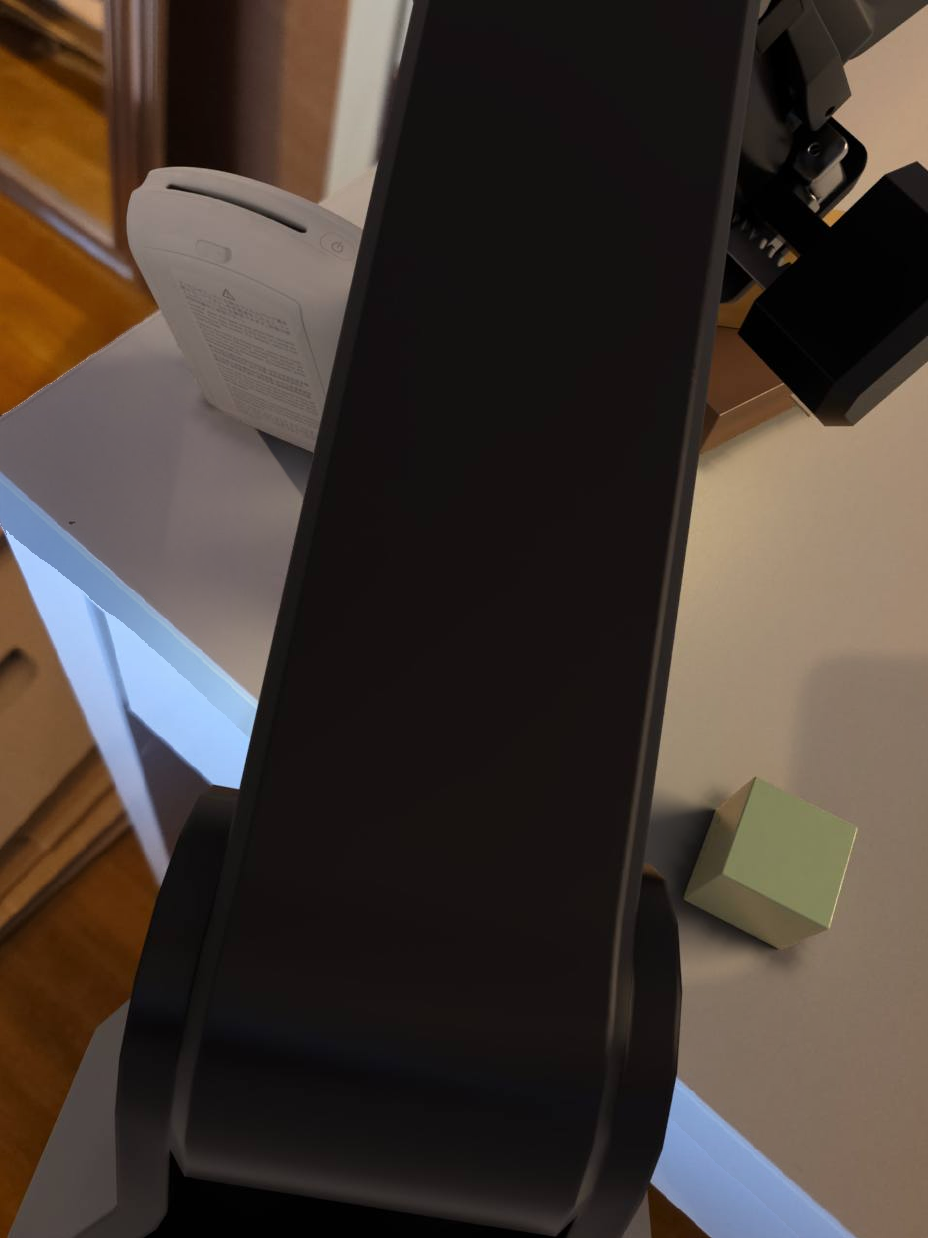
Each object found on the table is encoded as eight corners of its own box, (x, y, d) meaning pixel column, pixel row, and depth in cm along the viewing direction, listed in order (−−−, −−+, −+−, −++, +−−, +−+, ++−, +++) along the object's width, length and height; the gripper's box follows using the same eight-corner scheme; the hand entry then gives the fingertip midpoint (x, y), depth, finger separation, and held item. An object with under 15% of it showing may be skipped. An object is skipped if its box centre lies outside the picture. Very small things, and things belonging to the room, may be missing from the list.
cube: (780, 950, 36) (830, 930, 33) (682, 899, 37) (720, 874, 33) (809, 856, 38) (859, 827, 35) (715, 808, 39) (755, 775, 35)
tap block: (881, 404, 50) (914, 361, 48) (676, 514, 45) (699, 473, 42) (706, 228, 55) (727, 180, 52) (502, 310, 50) (513, 262, 47)
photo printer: (439, 416, 44) (405, 199, 32) (393, 493, 42) (341, 294, 31) (245, 340, 46) (150, 113, 35) (196, 411, 45) (80, 198, 33)
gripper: (1276, -86, 17) (1161, 231, 31) (636, -505, 23) (775, -86, 37) (778, 374, 21) (869, 475, 35) (343, -84, 27) (565, 154, 41)
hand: (767, 240), depth 37 cm, fingers closed
